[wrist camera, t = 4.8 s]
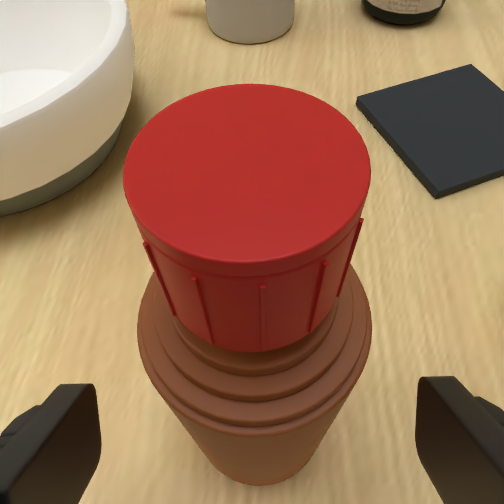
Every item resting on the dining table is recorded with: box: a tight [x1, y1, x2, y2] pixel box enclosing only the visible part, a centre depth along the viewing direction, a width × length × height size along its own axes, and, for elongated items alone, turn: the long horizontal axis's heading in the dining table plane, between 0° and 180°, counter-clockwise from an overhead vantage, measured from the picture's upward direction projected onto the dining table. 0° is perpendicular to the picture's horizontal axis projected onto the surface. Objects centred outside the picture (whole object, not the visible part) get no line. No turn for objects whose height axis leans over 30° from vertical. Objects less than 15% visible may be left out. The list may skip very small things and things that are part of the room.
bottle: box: [137, 264, 372, 486], centre depth 14 cm, size 6×6×17 cm
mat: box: [356, 64, 504, 199], centre depth 33 cm, size 11×11×1 cm
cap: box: [123, 84, 371, 352], centre depth 8 cm, size 4×4×4 cm
